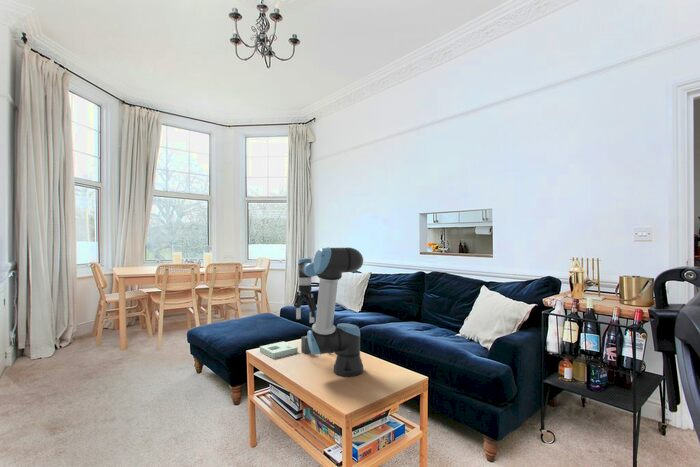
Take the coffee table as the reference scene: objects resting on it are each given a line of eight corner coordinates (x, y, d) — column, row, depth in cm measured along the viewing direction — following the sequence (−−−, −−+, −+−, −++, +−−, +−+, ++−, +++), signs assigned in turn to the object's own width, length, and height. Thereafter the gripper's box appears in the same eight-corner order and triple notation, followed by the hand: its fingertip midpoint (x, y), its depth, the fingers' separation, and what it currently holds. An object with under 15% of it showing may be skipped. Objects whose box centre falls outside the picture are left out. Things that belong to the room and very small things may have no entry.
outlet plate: (297, 352, 207) (297, 347, 207) (273, 358, 196) (273, 353, 197) (283, 346, 219) (283, 341, 219) (259, 351, 209) (259, 346, 209)
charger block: (310, 352, 207) (310, 336, 207) (305, 353, 205) (305, 338, 205) (307, 350, 210) (307, 335, 210) (301, 352, 208) (301, 336, 208)
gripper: (323, 285, 201) (323, 323, 201) (298, 282, 219) (298, 316, 219) (312, 287, 196) (312, 325, 196) (288, 283, 214) (288, 318, 214)
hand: (305, 320), depth 207 cm, fingers open, 13 cm apart
